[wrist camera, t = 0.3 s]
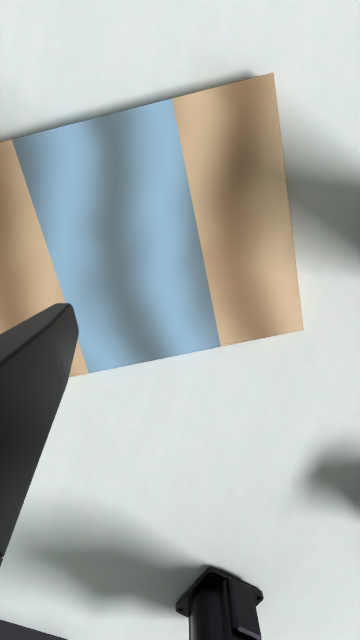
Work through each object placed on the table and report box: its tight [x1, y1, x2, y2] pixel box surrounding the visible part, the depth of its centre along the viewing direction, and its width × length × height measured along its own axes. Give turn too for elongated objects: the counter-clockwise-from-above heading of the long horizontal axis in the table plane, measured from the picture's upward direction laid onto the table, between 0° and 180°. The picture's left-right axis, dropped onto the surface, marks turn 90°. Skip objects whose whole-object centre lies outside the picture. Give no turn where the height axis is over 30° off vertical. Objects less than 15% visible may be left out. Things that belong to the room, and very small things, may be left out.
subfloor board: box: [0, 73, 304, 377], centre depth 22 cm, size 22×16×1 cm
